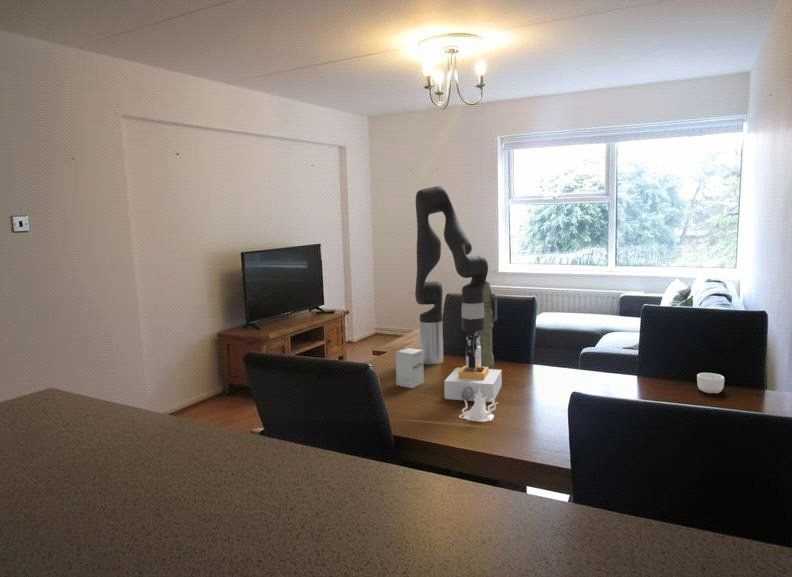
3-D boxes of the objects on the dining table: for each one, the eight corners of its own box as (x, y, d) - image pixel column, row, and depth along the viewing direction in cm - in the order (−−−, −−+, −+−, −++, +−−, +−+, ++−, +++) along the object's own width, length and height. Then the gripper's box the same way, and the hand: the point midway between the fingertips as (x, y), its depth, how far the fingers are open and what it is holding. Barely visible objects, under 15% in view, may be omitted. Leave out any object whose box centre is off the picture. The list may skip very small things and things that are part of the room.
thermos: (467, 368, 219) (466, 280, 215) (498, 369, 216) (497, 280, 212) (465, 374, 210) (463, 282, 206) (497, 375, 207) (496, 282, 203)
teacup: (726, 396, 175) (726, 380, 174) (698, 394, 177) (699, 378, 177) (719, 387, 184) (720, 372, 183) (693, 386, 187) (694, 370, 186)
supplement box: (412, 389, 193) (411, 353, 192) (395, 385, 198) (394, 351, 196) (424, 384, 199) (423, 349, 197) (408, 381, 203) (407, 347, 202)
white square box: (456, 383, 198) (456, 361, 197) (501, 386, 193) (501, 364, 192) (441, 402, 177) (441, 378, 176) (491, 406, 172) (491, 381, 171)
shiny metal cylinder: (468, 373, 189) (467, 344, 188) (482, 373, 188) (482, 345, 187) (464, 377, 185) (464, 347, 184) (479, 377, 183) (479, 348, 182)
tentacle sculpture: (463, 410, 169) (462, 381, 168) (502, 414, 165) (502, 384, 164) (456, 420, 161) (455, 389, 160) (497, 424, 157) (497, 392, 156)
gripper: (466, 312, 192) (466, 360, 194) (457, 319, 178) (458, 370, 180) (487, 312, 189) (488, 361, 191) (480, 319, 176) (480, 371, 178)
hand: (473, 365), depth 186 cm, fingers closed on shiny metal cylinder, 5 cm apart
